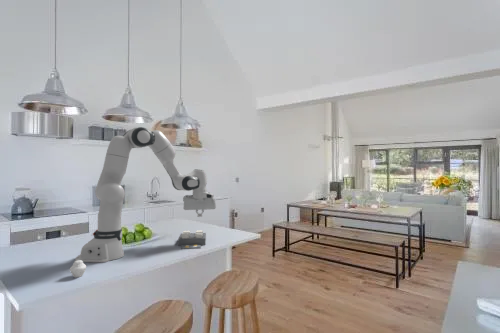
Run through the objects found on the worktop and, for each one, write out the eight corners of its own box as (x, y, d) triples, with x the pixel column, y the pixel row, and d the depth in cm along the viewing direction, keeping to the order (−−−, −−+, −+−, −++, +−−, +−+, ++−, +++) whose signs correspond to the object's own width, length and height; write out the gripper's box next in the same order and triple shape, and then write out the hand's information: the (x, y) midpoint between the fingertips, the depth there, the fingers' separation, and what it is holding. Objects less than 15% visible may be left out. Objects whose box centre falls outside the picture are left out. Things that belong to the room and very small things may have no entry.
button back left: (182, 237, 181) (182, 232, 181) (183, 235, 185) (183, 230, 185) (189, 236, 181) (189, 232, 181) (190, 235, 185) (190, 230, 185)
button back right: (195, 236, 182) (195, 232, 182) (196, 235, 186) (196, 230, 186) (202, 236, 182) (202, 231, 182) (202, 235, 186) (202, 230, 186)
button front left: (181, 240, 174) (181, 235, 174) (182, 238, 178) (182, 233, 178) (188, 239, 174) (188, 234, 174) (189, 238, 178) (189, 233, 178)
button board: (178, 245, 172) (178, 239, 172) (180, 239, 186) (180, 233, 186) (205, 245, 174) (205, 238, 174) (205, 239, 188) (205, 232, 188)
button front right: (195, 239, 175) (195, 234, 175) (195, 237, 179) (195, 233, 179) (202, 239, 175) (202, 234, 175) (202, 237, 179) (202, 232, 179)
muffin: (83, 272, 129) (83, 256, 129) (88, 275, 125) (88, 259, 125) (67, 276, 125) (67, 260, 124) (72, 280, 120) (72, 263, 120)
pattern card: (181, 248, 166) (181, 247, 166) (182, 246, 171) (182, 244, 171) (200, 248, 167) (200, 246, 167) (200, 245, 172) (200, 244, 172)
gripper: (182, 195, 179) (182, 218, 180) (215, 195, 182) (215, 217, 182) (183, 194, 186) (183, 216, 186) (215, 194, 188) (215, 215, 188)
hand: (199, 216), depth 184 cm, fingers closed
